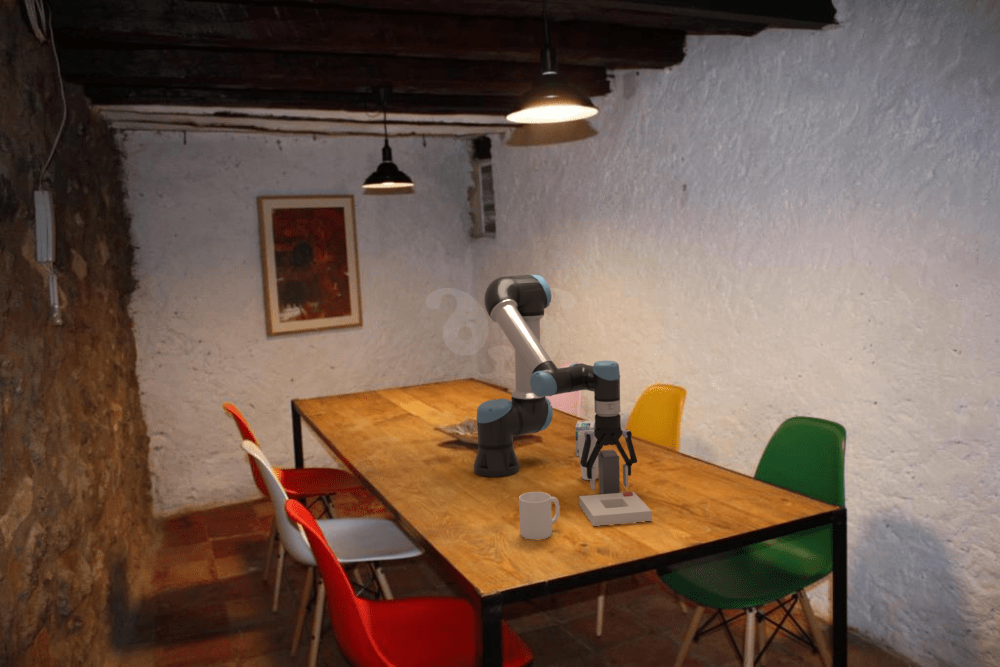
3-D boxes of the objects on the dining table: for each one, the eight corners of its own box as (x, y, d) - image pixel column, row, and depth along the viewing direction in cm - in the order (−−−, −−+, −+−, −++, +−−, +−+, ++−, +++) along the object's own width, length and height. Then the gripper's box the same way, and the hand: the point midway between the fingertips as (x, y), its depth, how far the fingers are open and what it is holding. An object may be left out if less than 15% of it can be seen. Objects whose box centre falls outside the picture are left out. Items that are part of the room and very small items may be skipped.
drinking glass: (602, 476, 240) (601, 430, 238) (598, 482, 234) (597, 435, 232) (581, 474, 242) (580, 429, 240) (577, 481, 236) (575, 434, 234)
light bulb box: (594, 457, 261) (594, 427, 260) (575, 457, 263) (574, 427, 261) (597, 449, 272) (596, 419, 270) (578, 448, 273) (577, 419, 272)
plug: (603, 497, 220) (602, 454, 218) (599, 492, 224) (598, 450, 223) (620, 496, 220) (619, 453, 219) (615, 490, 225) (614, 449, 224)
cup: (514, 533, 195) (512, 496, 194) (550, 522, 201) (549, 486, 200) (532, 543, 188) (531, 504, 187) (569, 532, 195) (568, 494, 193)
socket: (593, 526, 197) (593, 513, 197) (579, 506, 213) (579, 493, 213) (651, 521, 199) (651, 508, 199) (633, 501, 215) (633, 489, 215)
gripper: (573, 419, 214) (575, 494, 217) (647, 413, 217) (649, 488, 220) (568, 413, 222) (570, 486, 224) (639, 408, 224) (641, 480, 227)
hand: (609, 487), depth 222 cm, fingers open, 9 cm apart
